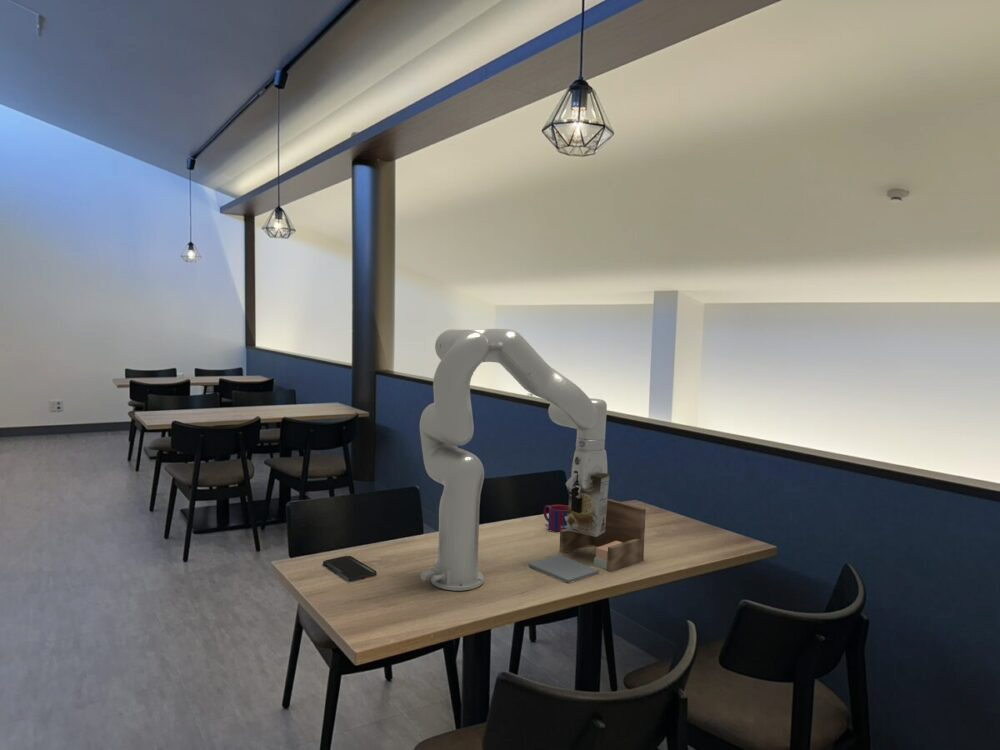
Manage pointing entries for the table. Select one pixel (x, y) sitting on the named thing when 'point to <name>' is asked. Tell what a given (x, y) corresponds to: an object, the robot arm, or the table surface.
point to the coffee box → (591, 507)
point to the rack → (614, 535)
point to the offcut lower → (600, 562)
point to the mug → (557, 517)
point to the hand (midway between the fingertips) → (586, 509)
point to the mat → (563, 568)
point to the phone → (349, 568)
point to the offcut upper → (605, 550)
